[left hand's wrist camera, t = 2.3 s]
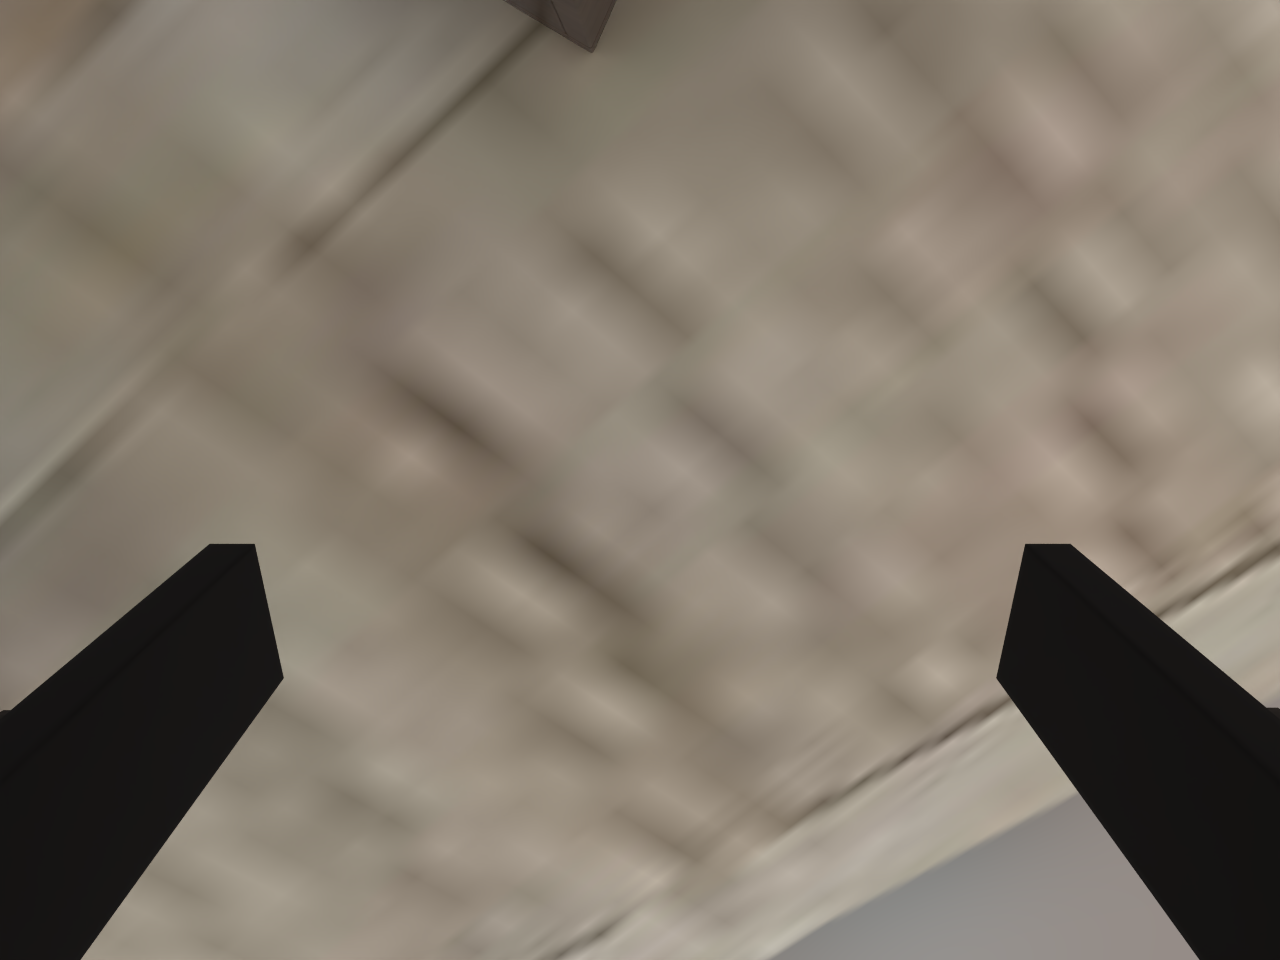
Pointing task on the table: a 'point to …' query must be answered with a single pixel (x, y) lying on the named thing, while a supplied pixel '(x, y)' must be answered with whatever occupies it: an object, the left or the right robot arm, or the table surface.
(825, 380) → the table surface
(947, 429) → the table surface
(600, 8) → the small wooden cabinet
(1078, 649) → the left robot arm
